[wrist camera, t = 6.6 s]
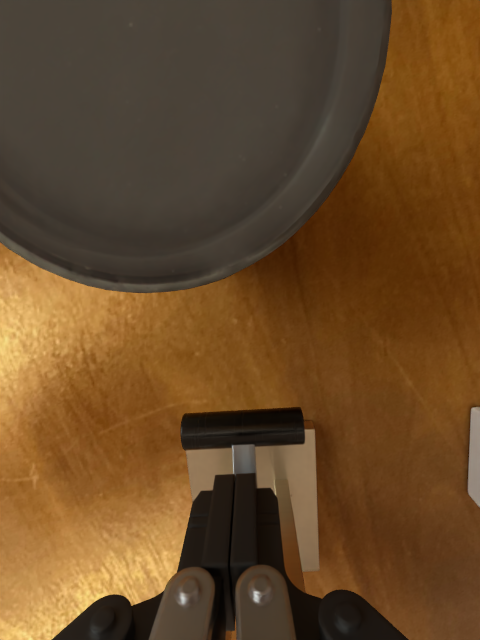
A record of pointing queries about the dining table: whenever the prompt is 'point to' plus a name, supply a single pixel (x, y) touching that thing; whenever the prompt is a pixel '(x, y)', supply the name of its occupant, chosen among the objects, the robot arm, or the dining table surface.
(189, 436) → the lever handle
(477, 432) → the milk carton
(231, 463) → the lever bracket
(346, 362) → the dining table surface
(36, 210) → the coffee can
